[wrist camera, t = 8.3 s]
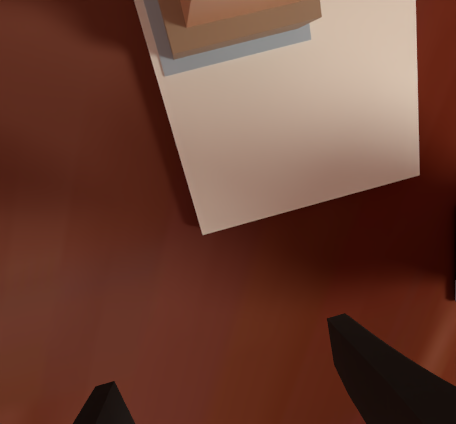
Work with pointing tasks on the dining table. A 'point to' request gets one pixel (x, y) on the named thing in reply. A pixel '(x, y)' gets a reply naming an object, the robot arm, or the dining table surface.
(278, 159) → the board
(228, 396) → the dining table surface
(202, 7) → the terracotta block
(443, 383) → the robot arm
